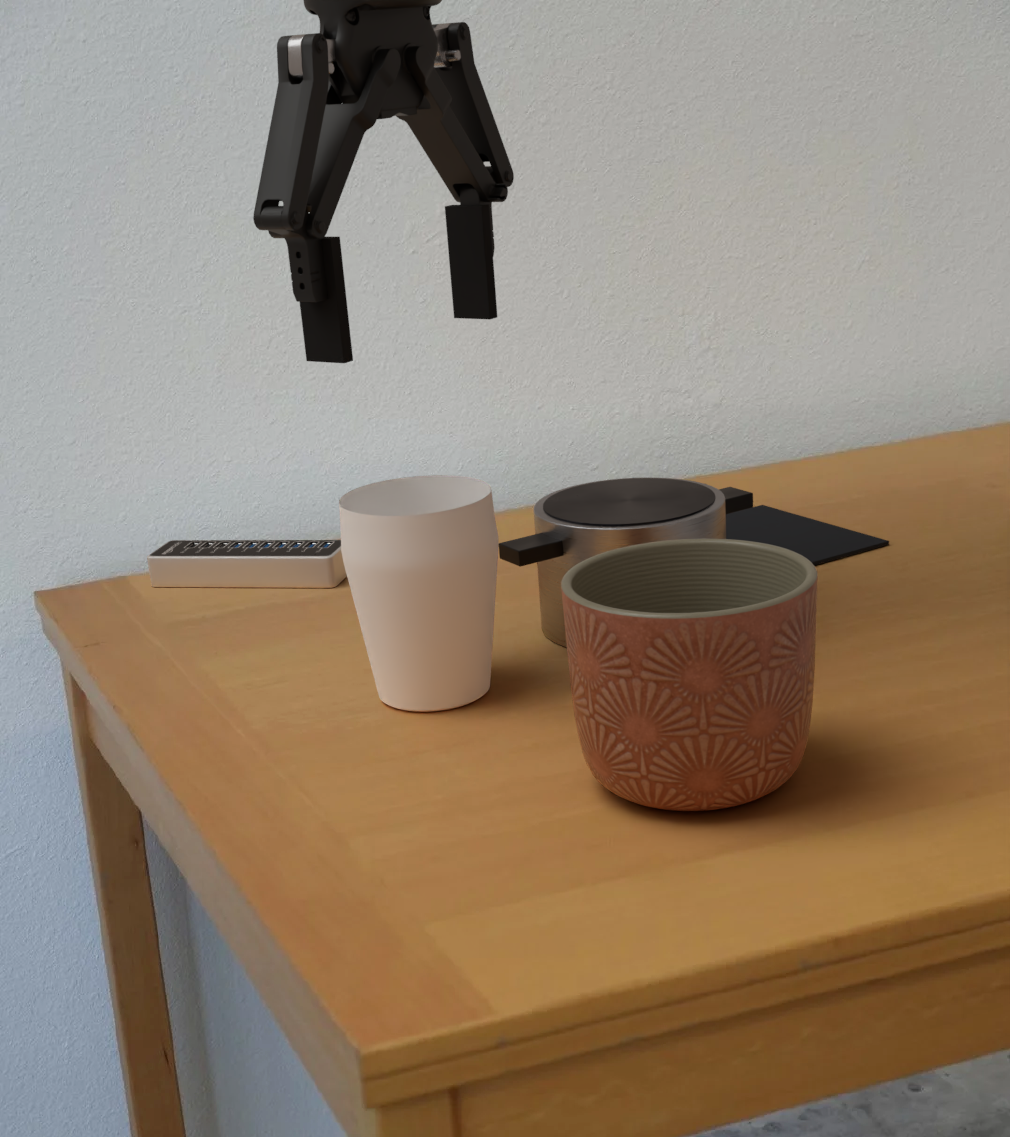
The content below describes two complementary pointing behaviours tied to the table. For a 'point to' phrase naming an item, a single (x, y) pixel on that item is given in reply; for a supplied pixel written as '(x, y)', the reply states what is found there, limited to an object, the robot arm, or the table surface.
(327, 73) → the robot arm
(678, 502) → the steel pot
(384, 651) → the cup
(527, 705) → the table surface
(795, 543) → the mat
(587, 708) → the planter
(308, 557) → the multiport hub
